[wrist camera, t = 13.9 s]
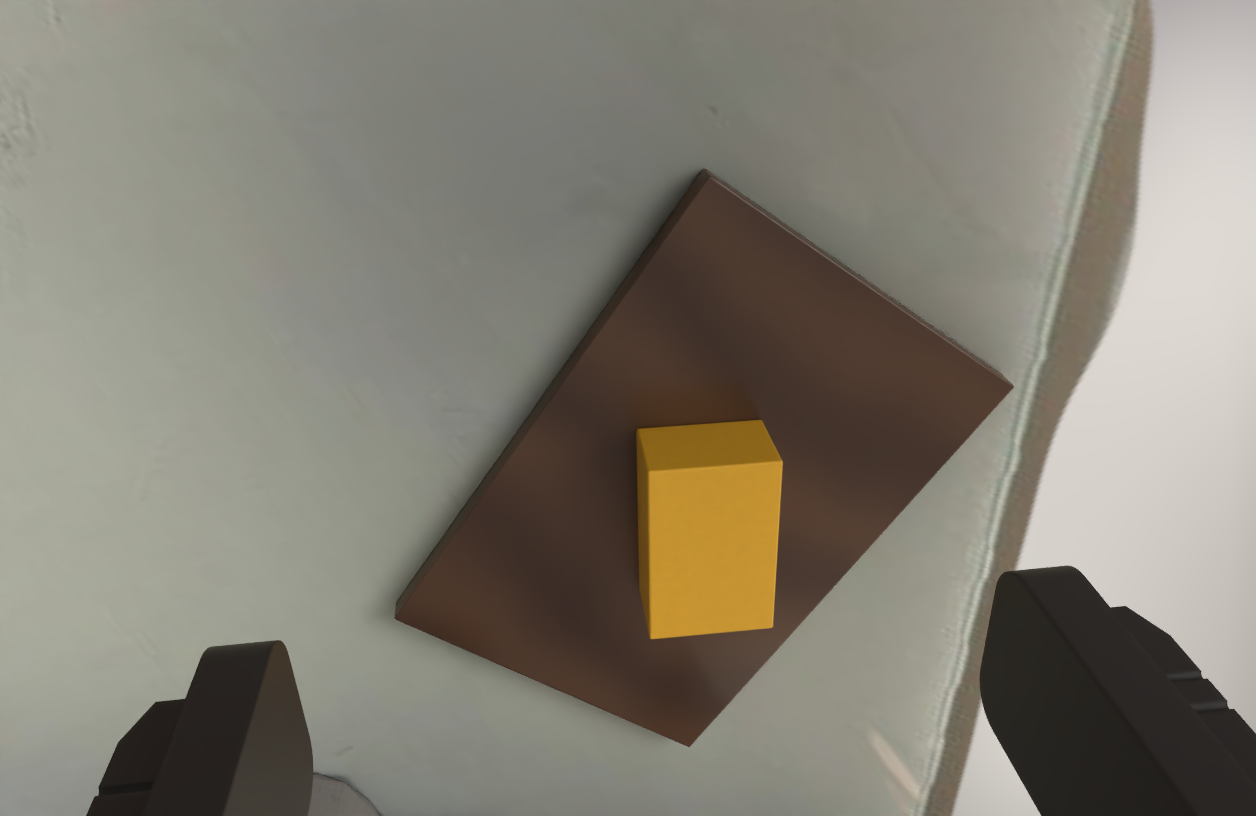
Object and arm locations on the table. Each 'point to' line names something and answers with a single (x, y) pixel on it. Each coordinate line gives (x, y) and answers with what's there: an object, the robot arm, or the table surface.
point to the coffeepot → (337, 799)
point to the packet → (707, 527)
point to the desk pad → (688, 395)
